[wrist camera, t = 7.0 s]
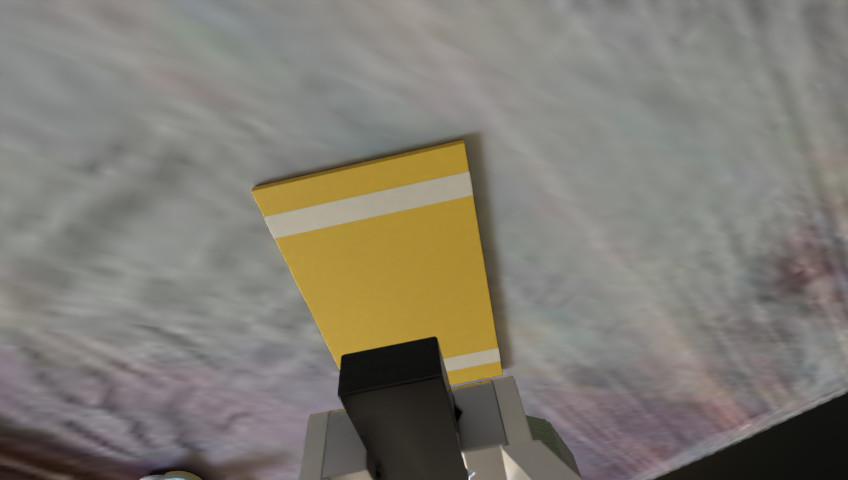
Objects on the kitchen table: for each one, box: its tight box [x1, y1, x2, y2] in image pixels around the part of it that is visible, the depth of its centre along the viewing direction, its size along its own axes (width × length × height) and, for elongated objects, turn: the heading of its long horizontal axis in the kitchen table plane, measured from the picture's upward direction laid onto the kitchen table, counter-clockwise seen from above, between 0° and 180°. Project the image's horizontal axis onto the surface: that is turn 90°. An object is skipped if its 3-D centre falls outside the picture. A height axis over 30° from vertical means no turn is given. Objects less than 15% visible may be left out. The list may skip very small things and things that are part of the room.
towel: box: [251, 140, 503, 385], centre depth 30 cm, size 20×12×1 cm, turn 12°
